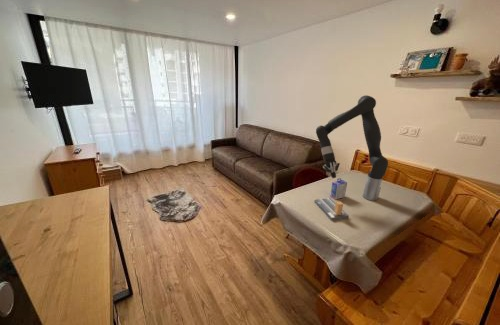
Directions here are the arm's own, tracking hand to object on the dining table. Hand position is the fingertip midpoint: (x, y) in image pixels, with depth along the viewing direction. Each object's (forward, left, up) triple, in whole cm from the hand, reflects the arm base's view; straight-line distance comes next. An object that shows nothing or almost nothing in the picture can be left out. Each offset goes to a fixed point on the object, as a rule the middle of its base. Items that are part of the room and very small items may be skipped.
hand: (334, 177), depth 138 cm
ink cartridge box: (-10, -6, -20) cm, 23 cm away
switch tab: (+5, +16, -17) cm, 24 cm away
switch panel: (+5, +8, -19) cm, 22 cm away
